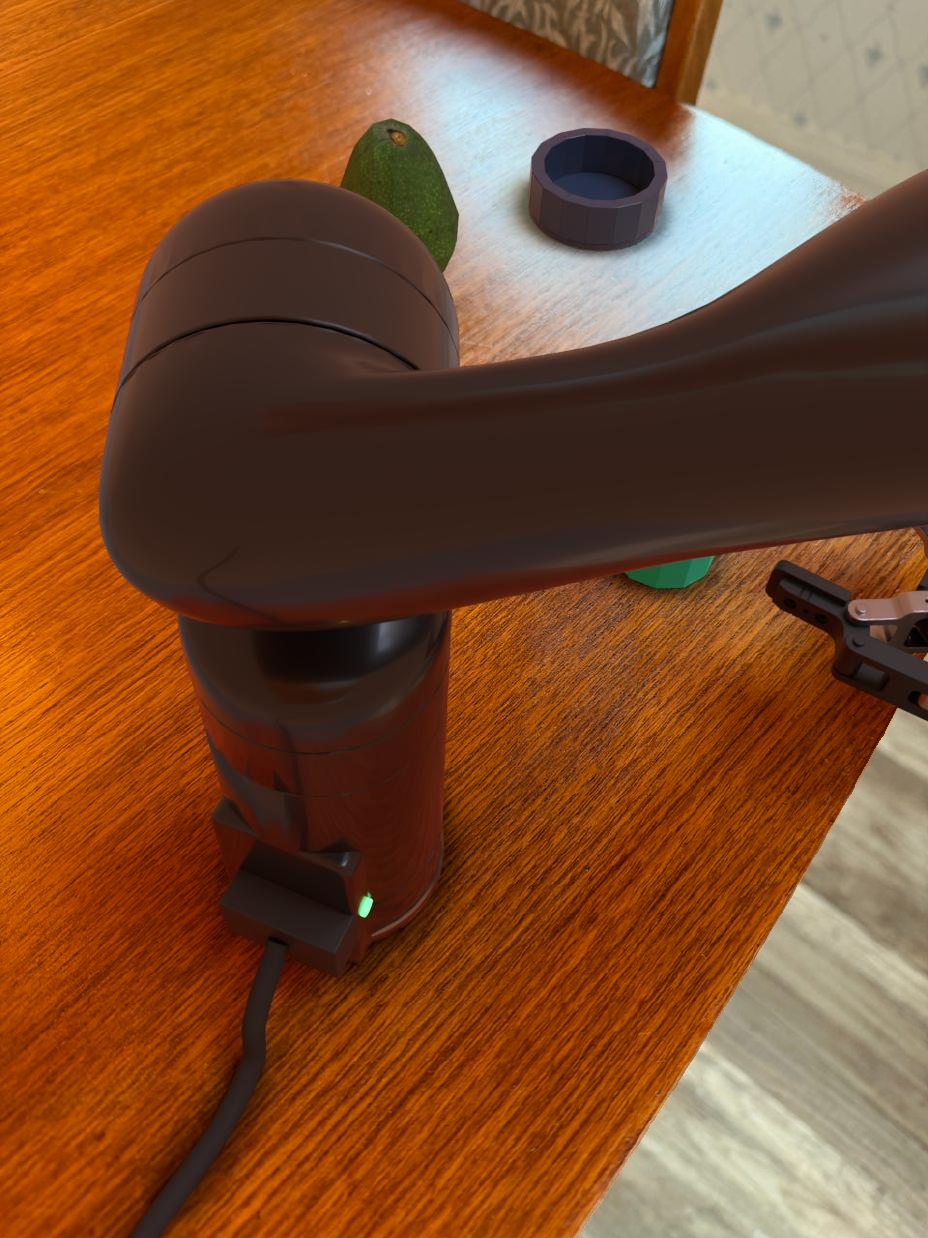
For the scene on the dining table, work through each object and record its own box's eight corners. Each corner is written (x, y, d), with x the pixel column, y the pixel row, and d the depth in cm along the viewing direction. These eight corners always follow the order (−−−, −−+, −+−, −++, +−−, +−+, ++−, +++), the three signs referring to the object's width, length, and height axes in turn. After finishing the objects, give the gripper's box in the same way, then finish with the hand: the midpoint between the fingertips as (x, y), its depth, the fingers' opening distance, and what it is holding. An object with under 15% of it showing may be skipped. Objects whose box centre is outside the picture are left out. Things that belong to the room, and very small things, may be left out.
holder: (634, 265, 82) (642, 221, 80) (508, 228, 84) (511, 184, 82) (675, 191, 88) (684, 148, 85) (555, 158, 90) (559, 115, 87)
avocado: (333, 326, 78) (322, 159, 68) (339, 250, 82) (330, 84, 73) (456, 329, 78) (462, 163, 68) (456, 253, 83) (461, 87, 73)
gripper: (1212, 525, 56) (883, 384, 60) (1130, 745, 48) (764, 565, 53) (1133, 620, 62) (840, 485, 67) (1050, 828, 54) (728, 660, 59)
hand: (807, 520), depth 60 cm, fingers open, 8 cm apart
